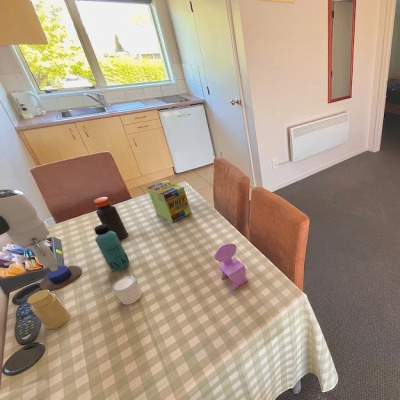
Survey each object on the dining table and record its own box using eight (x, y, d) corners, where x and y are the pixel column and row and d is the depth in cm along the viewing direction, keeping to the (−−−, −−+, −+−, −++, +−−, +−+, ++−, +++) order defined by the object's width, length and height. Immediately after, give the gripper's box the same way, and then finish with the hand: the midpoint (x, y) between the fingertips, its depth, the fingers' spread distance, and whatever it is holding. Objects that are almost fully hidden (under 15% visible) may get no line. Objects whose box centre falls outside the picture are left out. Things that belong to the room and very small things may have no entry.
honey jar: (42, 331, 81) (20, 307, 75) (50, 316, 86) (30, 291, 80) (66, 325, 83) (46, 300, 77) (72, 310, 88) (54, 285, 82)
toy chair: (231, 293, 93) (222, 261, 85) (218, 280, 98) (209, 249, 90) (251, 279, 98) (244, 248, 91) (237, 268, 103) (231, 237, 96)
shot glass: (114, 304, 89) (106, 290, 86) (130, 288, 95) (122, 274, 92) (132, 307, 88) (124, 293, 85) (147, 291, 94) (140, 277, 91)
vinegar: (128, 238, 120) (110, 200, 110) (110, 244, 117) (90, 205, 106) (128, 231, 125) (110, 194, 115) (110, 236, 121) (91, 198, 111)
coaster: (33, 295, 93) (32, 294, 93) (48, 272, 103) (47, 270, 102) (75, 284, 97) (75, 283, 97) (86, 263, 107) (85, 262, 106)
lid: (73, 275, 100) (70, 270, 98) (53, 285, 96) (48, 280, 94) (69, 268, 103) (65, 263, 102) (48, 278, 99) (44, 272, 98)
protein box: (173, 223, 130) (163, 195, 122) (156, 213, 137) (145, 187, 130) (192, 213, 138) (184, 186, 130) (175, 204, 145) (166, 179, 137)
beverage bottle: (108, 271, 102) (84, 230, 92) (124, 260, 108) (103, 219, 98) (119, 276, 100) (96, 234, 90) (135, 264, 106) (115, 223, 95)
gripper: (51, 240, 86) (71, 271, 93) (35, 219, 97) (54, 248, 104) (24, 251, 82) (47, 282, 89) (10, 227, 92) (32, 257, 99)
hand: (50, 264), depth 96 cm, fingers open, 8 cm apart
